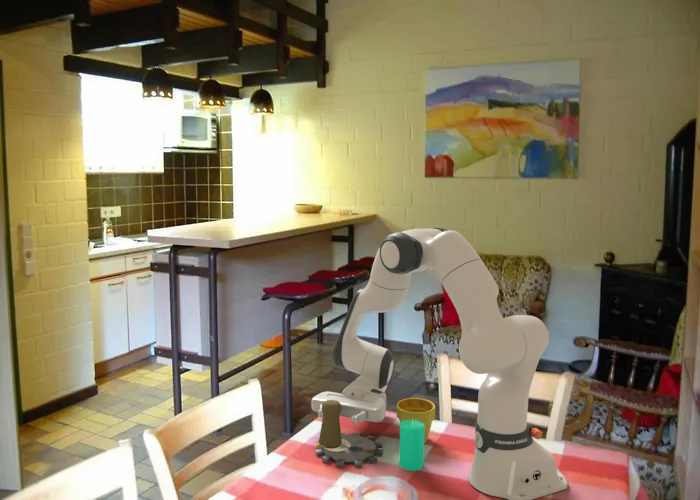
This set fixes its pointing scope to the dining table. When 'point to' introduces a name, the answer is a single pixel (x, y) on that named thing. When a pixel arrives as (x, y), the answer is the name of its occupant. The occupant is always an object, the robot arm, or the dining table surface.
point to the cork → (330, 424)
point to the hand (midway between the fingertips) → (336, 417)
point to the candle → (411, 445)
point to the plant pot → (417, 412)
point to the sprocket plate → (351, 450)
